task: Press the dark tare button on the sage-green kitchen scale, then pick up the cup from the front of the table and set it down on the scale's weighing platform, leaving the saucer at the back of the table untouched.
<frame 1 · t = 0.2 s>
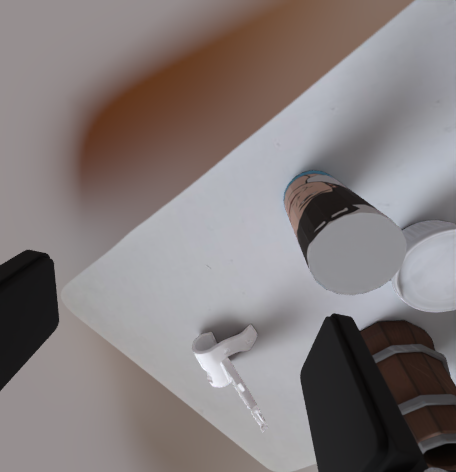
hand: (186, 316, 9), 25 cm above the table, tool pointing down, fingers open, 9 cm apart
plastic part: (229, 344, 44), on the table
ramekin: (419, 251, 35), on the table
cup: (310, 197, 33), on the table
mug: (393, 354, 42), on the table
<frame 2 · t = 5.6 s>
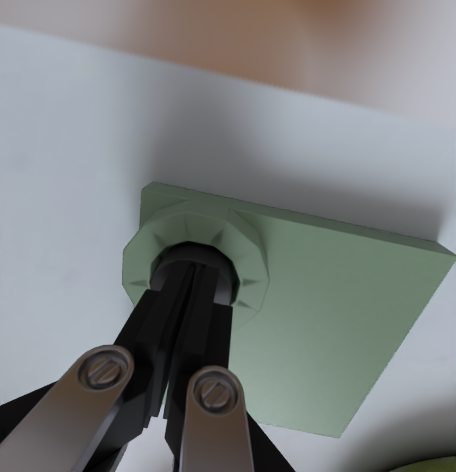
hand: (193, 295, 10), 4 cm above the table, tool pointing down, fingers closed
scale: (260, 322, 15), on the table
tare button: (194, 282, 11), point 3 cm above the table, slide at -0.4 cm, touching gripper
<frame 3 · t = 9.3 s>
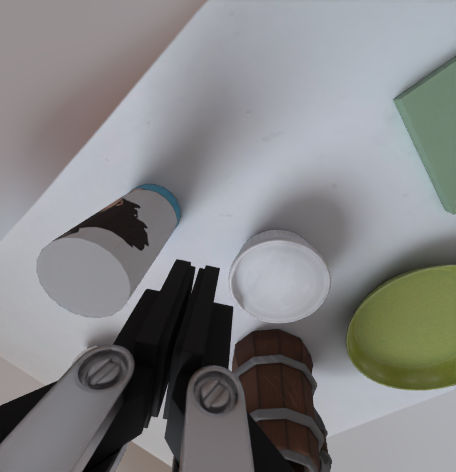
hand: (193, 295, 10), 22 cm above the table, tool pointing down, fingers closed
ramekin: (274, 260, 34), on the table
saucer: (416, 317, 36), on the table
cup: (153, 210, 32), on the table
mug: (279, 363, 42), on the table
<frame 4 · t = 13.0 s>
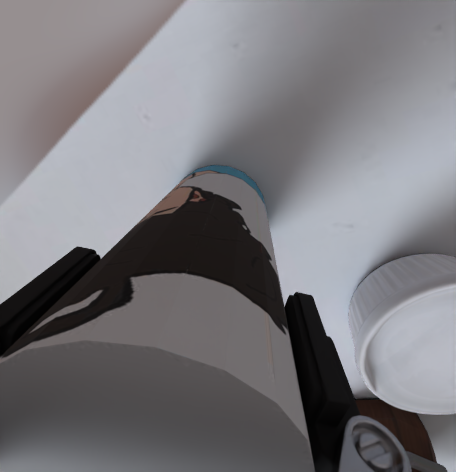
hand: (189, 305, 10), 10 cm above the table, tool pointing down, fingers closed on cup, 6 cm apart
ramekin: (406, 300, 21), on the table
cup: (218, 212, 19), on the table, touching gripper
mug: (371, 440, 29), on the table
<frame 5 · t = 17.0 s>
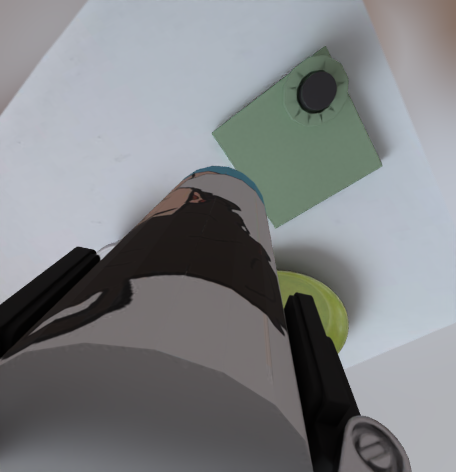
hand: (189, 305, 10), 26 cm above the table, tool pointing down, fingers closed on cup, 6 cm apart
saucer: (273, 315, 42), on the table
scale: (295, 148, 31), on the table
cup: (218, 212, 19), point 15 cm above the table, touching gripper
tare button: (317, 92, 26), point 4 cm above the table, slide at 0.1 cm
when the fingers open (12 cm above the table, at t = 21.3 s): cup stays where it is, resting on scale.
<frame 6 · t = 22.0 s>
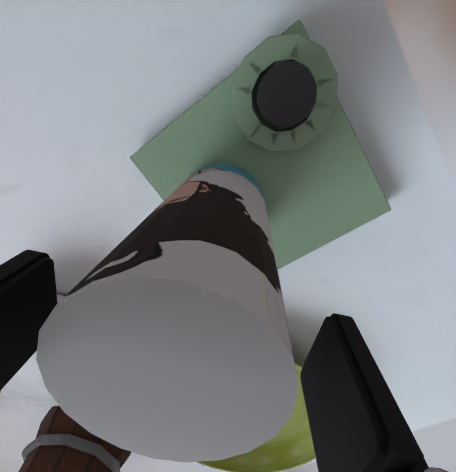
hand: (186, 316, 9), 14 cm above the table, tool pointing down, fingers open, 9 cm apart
ramekin: (64, 324, 29), on the table
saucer: (241, 392, 31), on the table
scale: (260, 179, 21), on the table
cup: (221, 207, 21), point 1 cm above the table, touching scale
mug: (107, 429, 36), on the table
tare button: (284, 96, 15), point 4 cm above the table, slide at 0.1 cm
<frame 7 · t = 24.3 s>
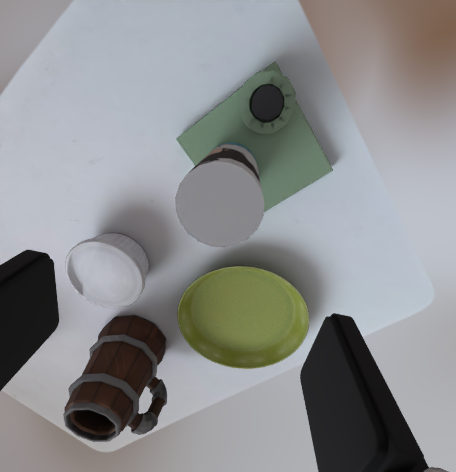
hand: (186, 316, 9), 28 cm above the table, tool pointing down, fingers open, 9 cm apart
ramekin: (120, 258, 42), on the table
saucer: (242, 309, 44), on the table
scale: (254, 153, 34), on the table
cup: (231, 170, 34), point 1 cm above the table, touching scale
mug: (144, 345, 50), on the table
tare button: (266, 103, 28), point 4 cm above the table, slide at 0.1 cm
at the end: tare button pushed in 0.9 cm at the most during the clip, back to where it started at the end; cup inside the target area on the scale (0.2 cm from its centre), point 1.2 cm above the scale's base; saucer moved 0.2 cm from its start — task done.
